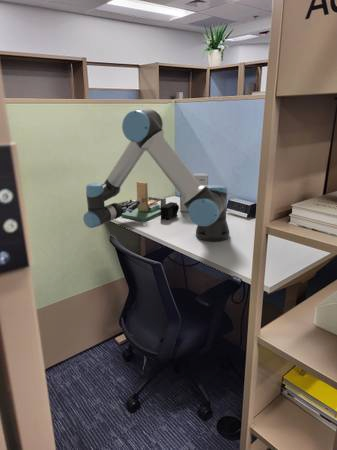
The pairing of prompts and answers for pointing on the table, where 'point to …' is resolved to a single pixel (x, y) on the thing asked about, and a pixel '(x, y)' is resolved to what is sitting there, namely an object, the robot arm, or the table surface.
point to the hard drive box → (202, 181)
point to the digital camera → (169, 211)
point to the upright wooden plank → (144, 197)
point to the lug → (163, 200)
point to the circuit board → (141, 214)
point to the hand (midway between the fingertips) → (141, 200)
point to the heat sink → (153, 207)
